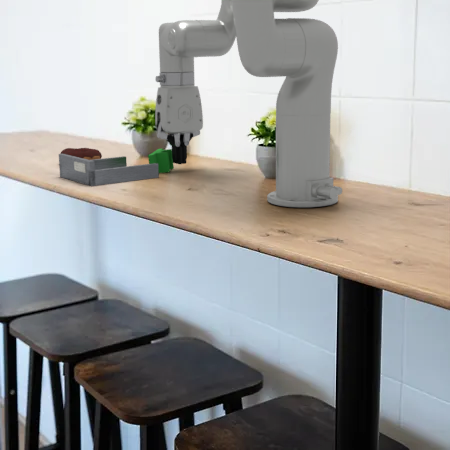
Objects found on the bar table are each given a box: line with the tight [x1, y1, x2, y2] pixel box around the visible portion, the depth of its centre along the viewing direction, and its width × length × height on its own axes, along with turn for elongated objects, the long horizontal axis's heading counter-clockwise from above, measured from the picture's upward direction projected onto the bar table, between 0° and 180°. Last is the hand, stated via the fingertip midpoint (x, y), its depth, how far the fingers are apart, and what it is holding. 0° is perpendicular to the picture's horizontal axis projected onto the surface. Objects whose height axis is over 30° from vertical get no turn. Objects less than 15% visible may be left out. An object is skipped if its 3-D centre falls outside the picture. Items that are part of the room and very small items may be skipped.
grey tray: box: [58, 153, 160, 187], centre depth 167 cm, size 15×16×5 cm
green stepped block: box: [147, 148, 175, 174], centre depth 175 cm, size 11×4×5 cm, turn 173°
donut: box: [59, 147, 103, 160], centre depth 187 cm, size 10×10×4 cm
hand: (179, 163), depth 174 cm, fingers closed
